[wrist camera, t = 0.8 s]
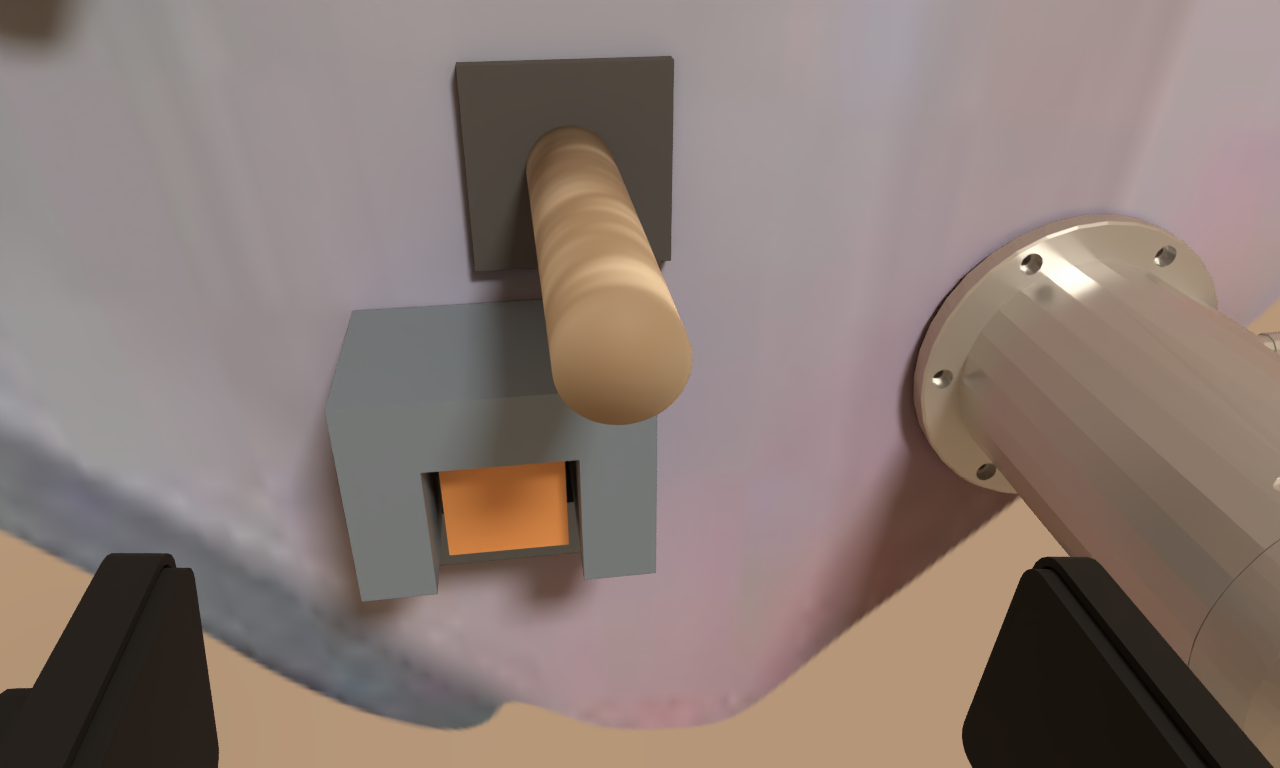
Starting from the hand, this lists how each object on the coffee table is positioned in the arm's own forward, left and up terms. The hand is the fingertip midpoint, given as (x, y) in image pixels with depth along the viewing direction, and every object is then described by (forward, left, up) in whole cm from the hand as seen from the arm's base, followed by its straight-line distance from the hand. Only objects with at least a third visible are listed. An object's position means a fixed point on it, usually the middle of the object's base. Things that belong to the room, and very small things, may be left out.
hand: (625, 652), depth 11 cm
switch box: (+2, +12, -24) cm, 27 cm away
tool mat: (-1, +2, -24) cm, 24 cm away
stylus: (-1, +2, -24) cm, 24 cm away
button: (+2, +12, -21) cm, 24 cm away
